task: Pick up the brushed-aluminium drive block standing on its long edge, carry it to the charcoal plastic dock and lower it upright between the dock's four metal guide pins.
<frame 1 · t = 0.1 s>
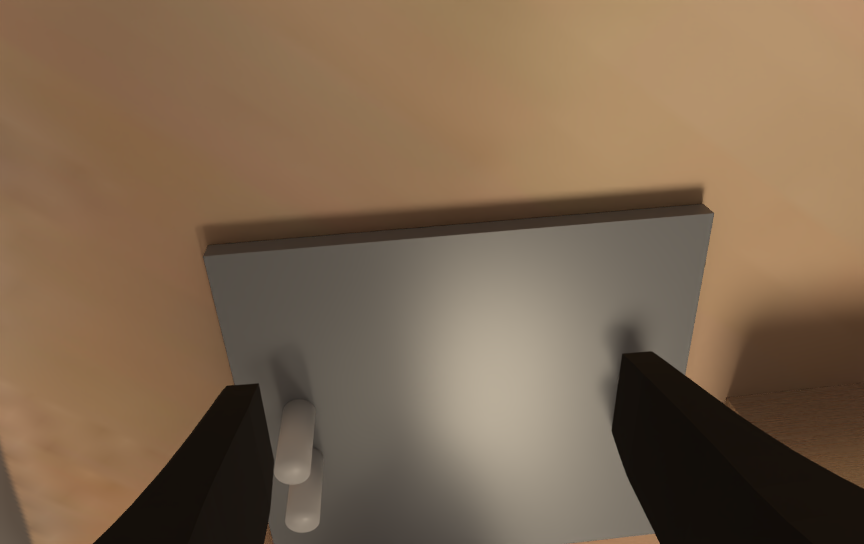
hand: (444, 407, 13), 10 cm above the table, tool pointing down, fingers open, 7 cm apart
drive: (827, 419, 29), on the table
dock: (466, 405, 26), on the table
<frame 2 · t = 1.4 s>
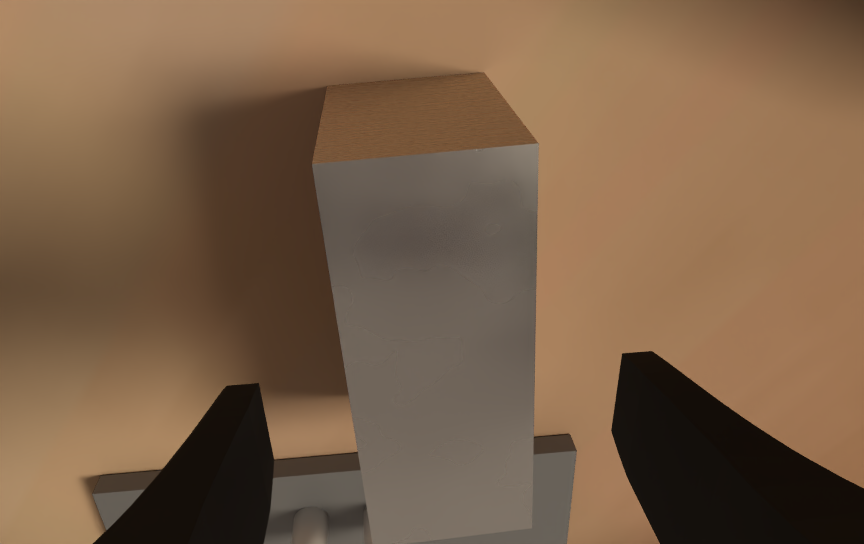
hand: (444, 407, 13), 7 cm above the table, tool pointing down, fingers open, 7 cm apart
drive: (420, 251, 19), on the table
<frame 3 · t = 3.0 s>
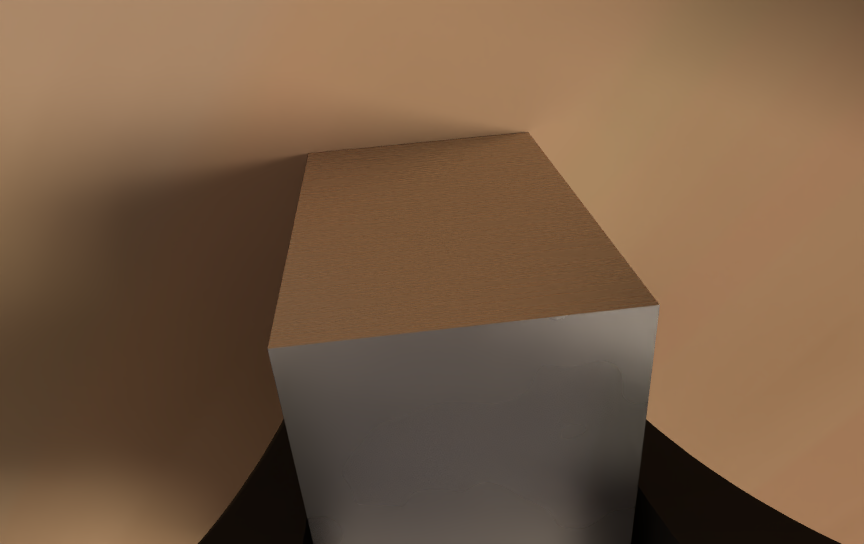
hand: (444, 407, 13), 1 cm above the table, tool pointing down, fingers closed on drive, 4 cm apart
drive: (437, 363, 14), on the table, touching gripper
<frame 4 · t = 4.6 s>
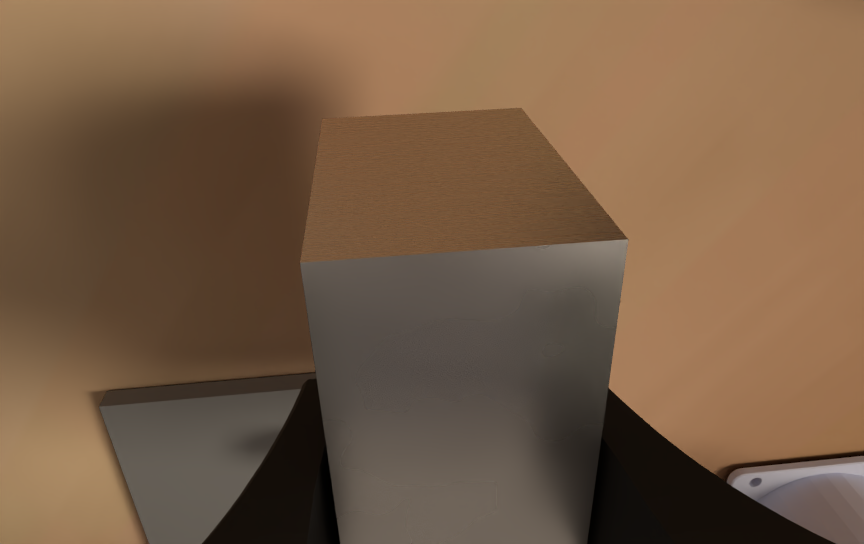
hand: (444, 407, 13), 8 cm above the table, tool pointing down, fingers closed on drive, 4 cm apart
drive: (429, 321, 16), point 5 cm above the table, touching gripper
dock: (365, 536, 27), on the table
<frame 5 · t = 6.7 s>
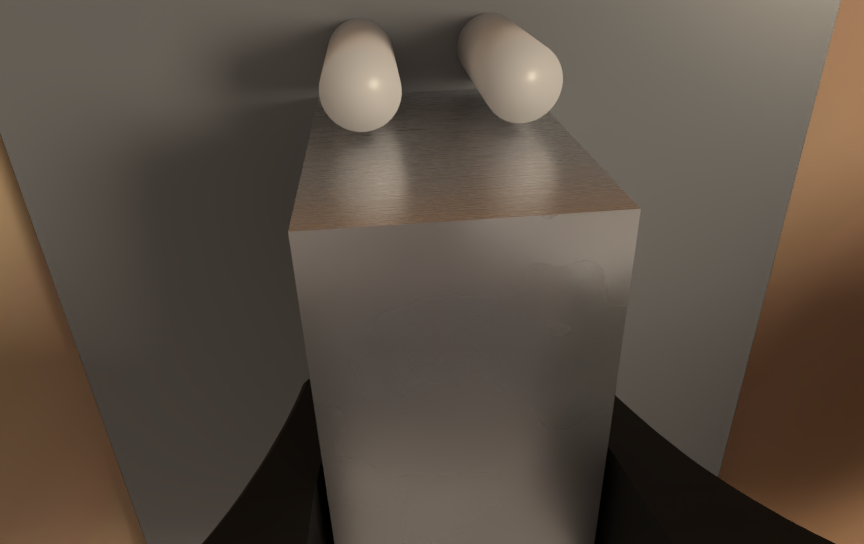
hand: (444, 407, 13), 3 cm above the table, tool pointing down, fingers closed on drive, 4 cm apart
drive: (430, 310, 15), point 1 cm above the table, touching dock, gripper
dock: (430, 314, 16), on the table
when the fingers open (3 cm above the table, at t = 7.4 s): drive stays where it is, resting on dock.
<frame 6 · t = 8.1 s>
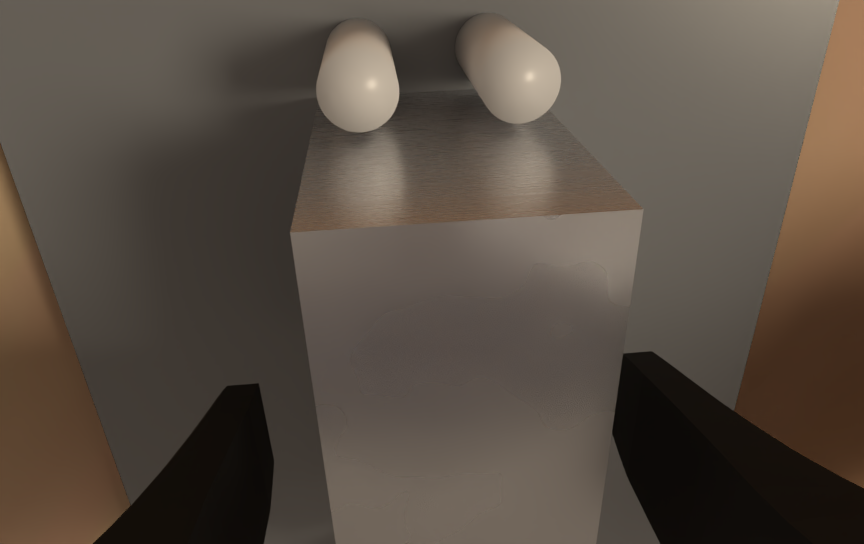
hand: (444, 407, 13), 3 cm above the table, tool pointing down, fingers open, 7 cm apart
drive: (431, 311, 15), point 1 cm above the table, touching dock
dock: (429, 315, 16), on the table
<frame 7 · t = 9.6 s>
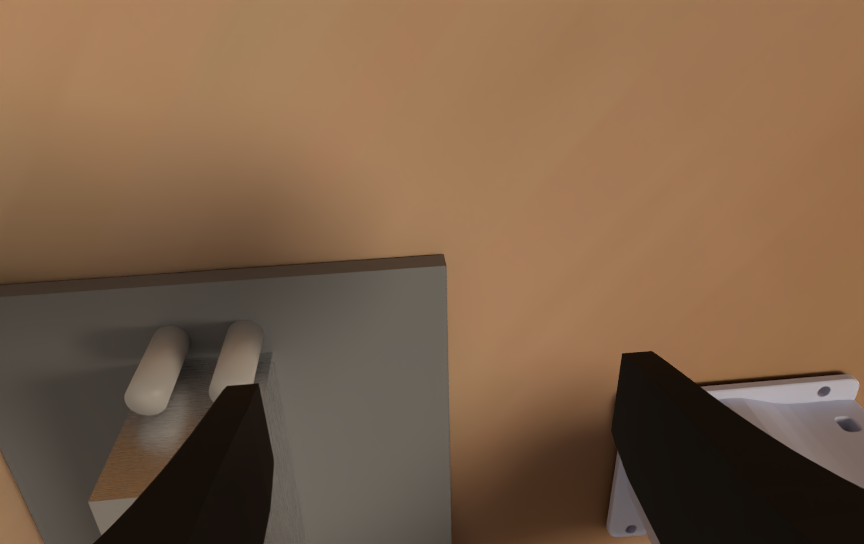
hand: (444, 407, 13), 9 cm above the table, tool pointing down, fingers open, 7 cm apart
drive: (238, 464, 25), point 1 cm above the table, touching dock
dock: (244, 461, 26), on the table
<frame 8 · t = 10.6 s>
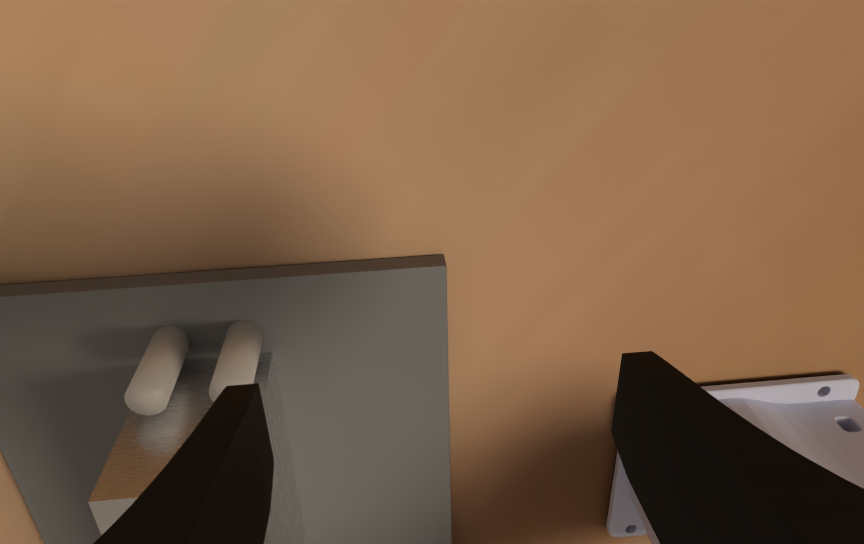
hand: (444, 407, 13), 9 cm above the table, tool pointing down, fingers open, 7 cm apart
drive: (238, 464, 25), point 1 cm above the table, touching dock
dock: (244, 461, 26), on the table
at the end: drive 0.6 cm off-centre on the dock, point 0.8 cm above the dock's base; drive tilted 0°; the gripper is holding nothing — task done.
